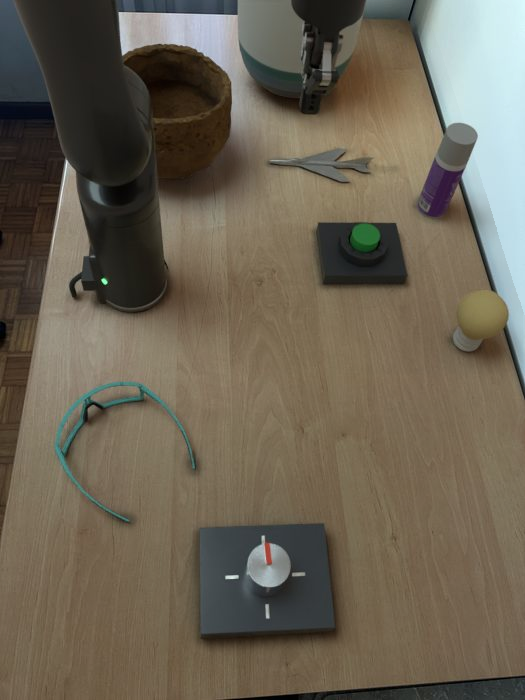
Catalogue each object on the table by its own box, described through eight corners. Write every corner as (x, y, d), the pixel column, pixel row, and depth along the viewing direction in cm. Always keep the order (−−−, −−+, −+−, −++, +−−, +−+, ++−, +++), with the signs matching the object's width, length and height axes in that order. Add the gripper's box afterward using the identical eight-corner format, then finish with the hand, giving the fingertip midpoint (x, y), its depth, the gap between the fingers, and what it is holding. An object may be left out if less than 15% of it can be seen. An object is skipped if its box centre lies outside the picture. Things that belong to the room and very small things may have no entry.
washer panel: (200, 638, 70) (200, 634, 68) (199, 535, 76) (199, 527, 73) (330, 631, 72) (335, 627, 69) (320, 530, 77) (324, 522, 75)
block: (322, 284, 96) (326, 267, 92) (315, 231, 101) (319, 213, 98) (403, 284, 97) (410, 267, 94) (392, 232, 102) (399, 214, 99)
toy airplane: (267, 147, 110) (268, 136, 108) (392, 153, 111) (395, 142, 109) (267, 180, 106) (269, 169, 104) (397, 186, 107) (400, 176, 105)
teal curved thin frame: (133, 376, 86) (131, 359, 81) (207, 462, 82) (210, 449, 78) (39, 442, 80) (32, 428, 76) (114, 537, 77) (111, 528, 72)
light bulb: (459, 368, 90) (486, 328, 82) (433, 332, 93) (455, 290, 84) (496, 351, 92) (526, 311, 83) (469, 316, 95) (495, 274, 86)
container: (444, 222, 104) (478, 147, 91) (415, 216, 104) (444, 141, 91) (446, 200, 106) (479, 125, 94) (417, 194, 107) (446, 119, 94)
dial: (288, 595, 70) (293, 584, 66) (247, 599, 70) (249, 589, 65) (283, 553, 73) (288, 540, 68) (243, 557, 72) (245, 544, 68)
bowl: (130, 111, 112) (120, 29, 99) (240, 131, 111) (244, 51, 99) (96, 191, 102) (80, 111, 89) (216, 213, 102) (217, 136, 89)
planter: (350, 124, 114) (377, 5, 96) (232, 117, 113) (237, -6, 95) (344, 50, 125) (367, -70, 106) (236, 43, 124) (240, -80, 105)
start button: (351, 252, 95) (354, 244, 93) (348, 231, 97) (350, 223, 95) (379, 252, 95) (382, 244, 94) (375, 231, 97) (377, 223, 96)
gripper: (291, -76, 67) (273, 73, 82) (302, 0, 60) (281, 148, 75) (363, -71, 68) (333, 75, 83) (382, 5, 61) (346, 150, 76)
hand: (308, 110), depth 79 cm, fingers closed
